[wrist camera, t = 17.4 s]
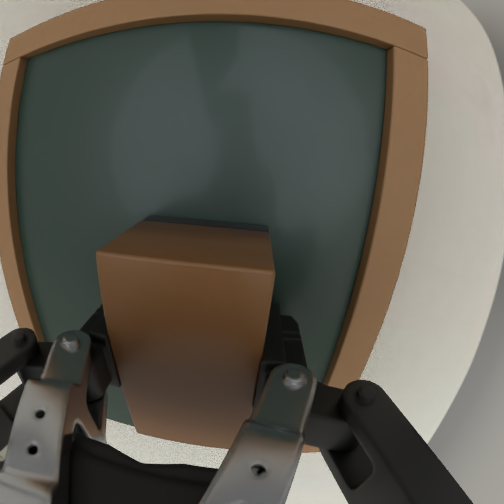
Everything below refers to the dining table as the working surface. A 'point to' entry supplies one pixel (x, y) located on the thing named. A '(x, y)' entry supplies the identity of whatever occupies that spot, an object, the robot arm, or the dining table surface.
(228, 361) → the eraser
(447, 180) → the dining table surface
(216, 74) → the slate board
